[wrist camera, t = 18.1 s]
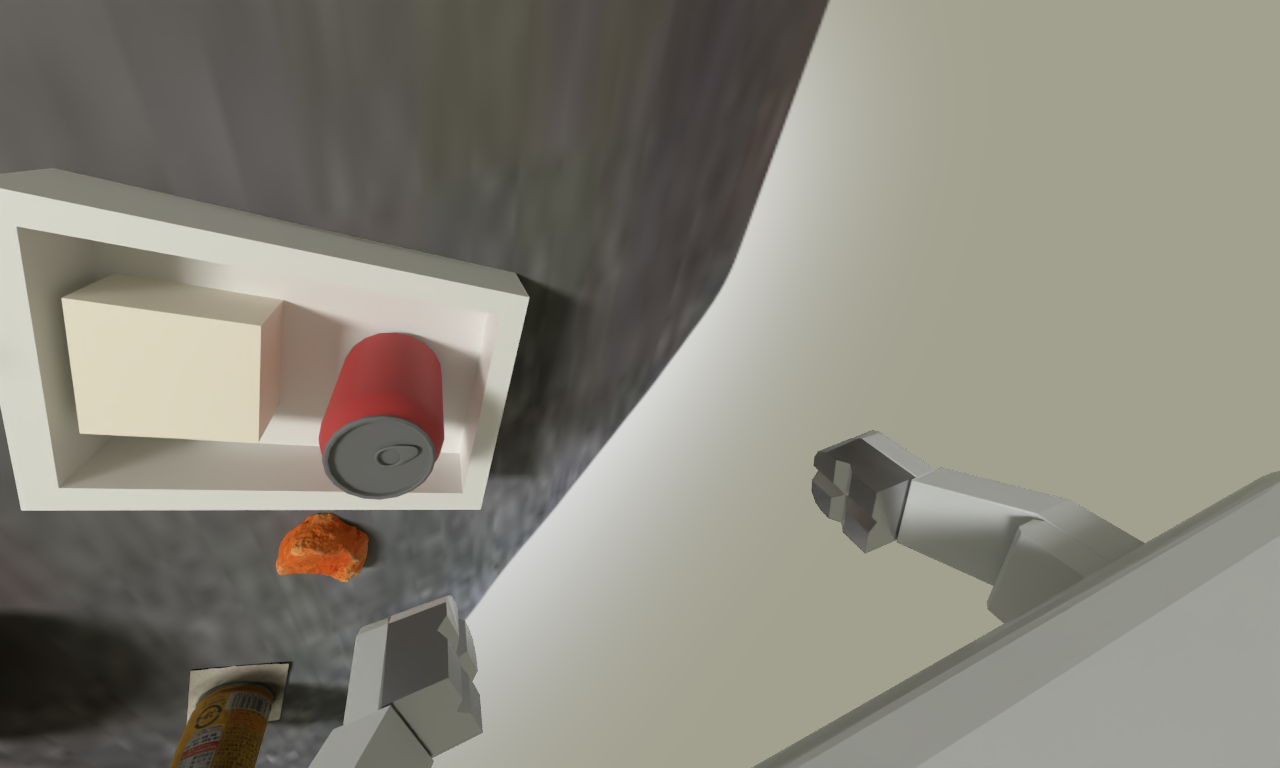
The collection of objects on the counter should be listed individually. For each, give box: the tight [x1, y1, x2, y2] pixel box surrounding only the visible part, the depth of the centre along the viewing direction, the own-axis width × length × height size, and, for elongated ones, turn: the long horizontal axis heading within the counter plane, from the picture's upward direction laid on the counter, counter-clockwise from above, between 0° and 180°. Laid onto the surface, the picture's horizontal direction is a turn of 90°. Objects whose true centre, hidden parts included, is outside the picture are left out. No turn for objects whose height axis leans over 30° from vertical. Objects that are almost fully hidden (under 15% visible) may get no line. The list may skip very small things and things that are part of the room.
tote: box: [0, 168, 530, 510], centre depth 32 cm, size 18×25×6 cm
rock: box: [276, 513, 369, 582], centre depth 40 cm, size 12×12×4 cm
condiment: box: [169, 664, 289, 768], centre depth 41 cm, size 7×8×12 cm
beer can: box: [318, 332, 444, 500], centre depth 31 cm, size 7×7×12 cm
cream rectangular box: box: [61, 273, 283, 443], centre depth 29 cm, size 8×8×5 cm
